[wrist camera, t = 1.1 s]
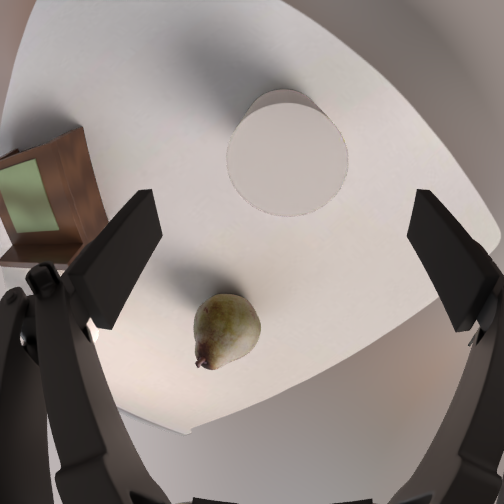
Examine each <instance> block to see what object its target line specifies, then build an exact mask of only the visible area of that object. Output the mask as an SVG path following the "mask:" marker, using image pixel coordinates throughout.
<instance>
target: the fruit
mask: <svg viewBox="0 0 504 504" xmlns="http://www.w3.org/2000/svg"><path fill="white" fill-rule="evenodd" d="M260 332H261V324H260V320H259V317H258V316H257V314H256V311H255V309H254V308H253V306H252V305H251V303H250V302H249V301H248V300H246V299H245V298H243V297H240V296H237V295H233V294H217V295H214V296H212V297H211V298H209V299H208V300H206V301H205V302H204V303H203V304H202V305H201V306H200V307H199V308H198V310H197V312H196V315H195V319H194V338H195V341H196V345H195V356H196V358H197V360H198V361H196V362H195V364H196V366H197V368H199V367H200V365H201V366H202V367H204V368H206V369H209V370H215V369H218V368H220V367H222V366H224V365H225V364H227V363H229V362H232V361H235V360H237V359H239V358H241V357H243V356H245V355H247V354H248V353H249V352H250V351H251V350H252V349H253V348H254V347H255V345H256V344H257V341H258V339H259V336H260Z"/></svg>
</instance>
